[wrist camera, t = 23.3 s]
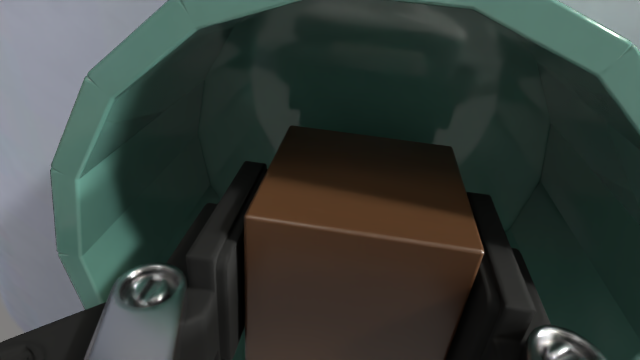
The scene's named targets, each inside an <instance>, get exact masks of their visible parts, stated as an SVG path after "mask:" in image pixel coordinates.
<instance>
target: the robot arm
mask: <svg viewBox="0 0 640 360" xmlns="http://www.w3.org/2000/svg"><path fill="white" fill-rule="evenodd" d="M267 170H268V169H267V165H266V164H265V163H258V162H251V161H245V162H244V163H243V165H242V166H241V168H240V170H239V171H238V173H237V174H236V176H235V178H234V179H233V181H232V182H231V184H230V186H229V187H228V189H227V190H226V192H225V194H224V195H223V197H222V198H221V200H220V202H219V203H218V204H214V203H207V204H206V205H205V206H204V207H203V209H202V210H201V212H200V213H199V215H198V216H197V218H196V219H195V221H194V222H193V224H192V225H191V227H190V228H189V230H188V231H187V233H186V234H185V236H184V237H183V239H182V240H181V242H180V243H179V245H178V246H177V248H176V249H175V251H174V252H173V254H172V255H171V257H170V258H169V260H168V261H167V263H159V262H155V263H147V264H143V265H140V266H136V267H134V268H132V269H130V270H128V271H127V272H125V273H124V274H122V275H121V276H120V277H119V278H118V279H117V280H116V282H115V283H114V285H113V287H112V289H111V291H110V294H109V296H108V299H107V301H106V302H105V303H102V304H99V305H97V306H94V307H92V308H89V309H86V310H84V311H81V312H78V313H76V314H73V315H71V316H68V317H65V318H63V319H60V320H58V321H55V322H52V323H50V324H47V325H44V326H42V327H39V328H37V329H34V330H31V331H29V332H26V333H24V334H21V335H18V336H16V337H13V338H10V339H8V340H5V341H3V342H1V343H0V360H232V359H233V357H234V355H235V352H236V349H237V346H238V344H239V341H240V338H241V335H242V333H243V330H244V327H245V298H244V215H245V213H246V211H247V209H248V207H249V205H250V203H251V201H252V199H253V198H254V196H255V194H256V192H257V190H258V188H259V186H260V184H261V182H262V180H263V178H264V176H265V174H266V172H267ZM467 196H468V200H469V203H470V206H471V210H472V213H473V216H474V219H475V223H476V226H477V229H478V232H479V236H480V239H481V242H482V245H483V249H484V255H483V258H482V261H481V264H480V266H479V269H478V272H477V275H476V277H475V280H474V283H473V286H472V288H471V291H470V294H469V297H468V299H467V302H466V305H465V308H464V310H463V313H462V316H461V319H460V322H459V324H458V327H457V330H456V333H455V335H454V338H453V341H452V344H451V346H450V349H449V352H448V355H447V357H446V360H607V359H606V358H605V357H604V355H603V354H602V353H601V351H600V350H599V349H598V348H597V347H596V346H595V345H593V344H592V343H591V342H590V341H589V340H587V339H586V338H584V337H583V336H581V335H580V334H578V333H576V332H574V331H571V330H569V329H567V328H564V327H559V326H555V325H551V323H550V321H549V318H548V316H547V314H546V311H545V309H544V307H543V304H542V302H541V299H540V297H539V295H538V292H537V290H536V288H535V285H534V283H533V280H532V278H531V276H530V273H529V271H528V269H527V266H526V264H525V261H524V259H523V257H522V254H521V253H520V251H519V250H518V249H516V248H511V246H510V244H509V241H508V239H507V236H506V234H505V231H504V229H503V226H502V224H501V221H500V218H499V216H498V213H497V211H496V208H495V206H494V203H493V201H492V198H491V196H490V195H487V194H480V193H472V192H467Z"/></svg>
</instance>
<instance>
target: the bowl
mask: <svg viewBox="0 0 640 360" xmlns="http://www.w3.org/2000/svg"><path fill="white" fill-rule="evenodd" d="M292 125H294V126H301V127H309V128H316V129H324V130H331V131H339V132H346V133H354V134H361V135H369V136H376V137H384V138H391V139H399V140H406V141H414V142H421V143H429V144H436V145H444V146H450V147H452V148H453V151H454V154H455V157H456V161H457V164H458V167H459V170H460V174H461V177H462V180H463V183H464V187H465V190H466V193H467V192H472V193H480V194H487V195H490V196H491V198H492V201H493V203H494V206H495V208H496V211H497V213H498V216H499V218H500V221H501V224H502V226H503V229H504V231H505V234H506V236H507V239H508V241H509V244H510V246H511V248H516V249H518V250H519V251H520V253H521V254H522V257H523V259H524V261H525V264H526V266H527V269H528V271H529V273H530V276H531V278H532V280H533V283H534V285H535V288H536V290H537V292H538V295H539V297H540V299H541V302H542V304H543V307H544V309H545V311H546V314H547V316H548V318H549V321H550V323H551V325H555V326H559V327H564V328H567V329H569V330H571V331H574V332H576V333H578V334H580V335H581V336H583V337H584V338H586V339H587V340H589V341H590V342H591V343H592V344H593V345H595V346H596V347H597V348H598V349H599V350H600V351H601V353H602V354H603V355H604V357H605V358H606V359H607V360H640V51H639V50H638V48H637V47H636V46H635V45H633V44H632V43H631V42H630V40H628V39H626V38H624V37H622V36H621V35H619V34H617V33H615V32H613V31H612V30H610V29H608V28H606V27H604V26H603V25H601V24H599V23H597V22H596V21H594V20H592V19H590V18H588V17H587V16H585V15H583V14H581V13H579V12H578V11H576V10H574V9H572V8H570V7H569V6H567V5H565V4H563V3H561V2H560V1H558V0H168V1H167V2H166V3H164V4H163V5H162V6H161V7H160V8H159V9H158V10H157V11H156V12H154V13H153V14H152V15H151V16H150V17H149V18H148V19H147V20H145V21H144V22H143V23H142V24H141V25H140V26H139V27H138V28H137V29H135V30H134V31H133V32H132V33H131V34H130V35H129V36H128V37H127V38H125V39H124V40H123V41H122V42H121V43H120V44H119V45H118V46H117V47H115V48H114V49H113V50H112V51H111V52H110V53H109V54H108V55H107V56H105V57H104V58H103V59H102V60H101V61H100V62H99V63H98V64H97V65H95V66H94V67H93V68H92V69H91V70H90V71H89V72H88V74H87V76H86V77H85V78H84V81H83V83H82V86H81V88H80V91H79V94H78V96H77V99H76V101H75V104H74V107H73V109H72V112H71V114H70V117H69V120H68V122H67V125H66V127H65V130H64V133H63V135H62V138H61V140H60V143H59V145H58V148H57V151H56V153H55V156H54V158H53V161H52V164H51V167H52V168H51V170H50V174H51V186H52V198H53V210H54V222H55V234H56V246H57V252H58V256H59V258H60V260H61V262H62V264H63V266H64V268H65V270H66V272H67V274H68V276H69V278H70V280H71V282H72V284H73V286H74V288H75V290H76V292H77V294H78V296H79V298H80V300H81V302H82V305H83V307H84V309H85V310H86V309H89V308H92V307H94V306H97V305H99V304H102V303H105V302H106V301H107V299H108V296H109V294H110V291H111V289H112V287H113V285H114V283H115V282H116V280H117V279H118V278H119V277H120V276H121V275H122V274H124V273H125V272H127V271H128V270H130V269H132V268H134V267H136V266H140V265H143V264H147V263H155V262H159V263H167V261H168V260H169V258H170V257H171V255H172V254H173V252H174V251H175V249H176V248H177V246H178V245H179V243H180V242H181V240H182V239H183V237H184V236H185V234H186V233H187V231H188V230H189V228H190V227H191V225H192V224H193V222H194V221H195V219H196V218H197V216H198V215H199V213H200V212H201V210H202V209H203V207H204V206H205V205H206V204H207V203H214V204H218V203H219V202H220V200H221V198H222V197H223V195H224V194H225V192H226V190H227V189H228V187H229V186H230V184H231V182H232V181H233V179H234V178H235V176H236V174H237V173H238V171H239V170H240V168H241V166H242V165H243V163H244V162H245V161H251V162H258V163H265V164H266V165H267V169H268V168H269V166H270V164H271V162H272V160H273V158H274V156H275V154H276V152H277V150H278V148H279V146H280V144H281V142H282V140H283V138H284V136H285V134H286V132H287V130H288V128H289V126H292ZM232 360H245V327H244V330H243V333H242V335H241V338H240V341H239V344H238V346H237V349H236V352H235V355H234V357H233V359H232Z"/></svg>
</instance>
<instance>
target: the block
mask: <svg viewBox="0 0 640 360" xmlns="http://www.w3.org/2000/svg"><path fill="white" fill-rule="evenodd" d="M483 255H484V249H483V245H482V242H481V239H480V236H479V232H478V229H477V226H476V223H475V219H474V216H473V213H472V210H471V206H470V203H469V200H468V196H467V193H466V190H465V187H464V183H463V180H462V177H461V174H460V170H459V167H458V164H457V161H456V157H455V154H454V151H453V148H452V147H450V146H444V145H436V144H429V143H421V142H414V141H406V140H399V139H391V138H384V137H376V136H369V135H361V134H354V133H346V132H339V131H331V130H324V129H316V128H309V127H301V126H294V125H292V126H289V128H288V130H287V132H286V134H285V136H284V138H283V140H282V142H281V144H280V146H279V148H278V150H277V152H276V154H275V156H274V158H273V160H272V162H271V164H270V166H269V168H268V170H267V172H266V174H265V176H264V178H263V180H262V182H261V184H260V186H259V188H258V190H257V192H256V194H255V196H254V198H253V199H252V201H251V203H250V205H249V207H248V209H247V211H246V213H245V215H244V298H245V360H446V357H447V355H448V352H449V349H450V346H451V344H452V341H453V338H454V335H455V333H456V330H457V327H458V324H459V322H460V319H461V316H462V313H463V310H464V308H465V305H466V302H467V299H468V297H469V294H470V291H471V288H472V286H473V283H474V280H475V277H476V275H477V272H478V269H479V266H480V264H481V261H482V258H483Z"/></svg>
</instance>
